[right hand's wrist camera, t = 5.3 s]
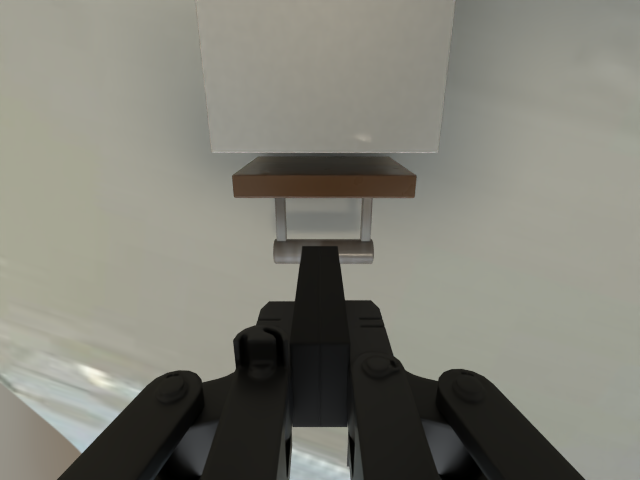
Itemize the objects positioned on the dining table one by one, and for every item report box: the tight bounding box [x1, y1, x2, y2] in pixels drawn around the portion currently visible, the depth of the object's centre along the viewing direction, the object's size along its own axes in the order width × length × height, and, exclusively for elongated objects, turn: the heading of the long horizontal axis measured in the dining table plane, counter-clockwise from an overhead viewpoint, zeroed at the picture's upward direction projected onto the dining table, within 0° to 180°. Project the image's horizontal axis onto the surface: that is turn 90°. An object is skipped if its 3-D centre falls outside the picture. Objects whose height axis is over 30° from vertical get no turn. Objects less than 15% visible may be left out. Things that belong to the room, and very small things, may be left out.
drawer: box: [232, 156, 417, 264], centre depth 20 cm, size 21×9×8 cm, turn 0°
